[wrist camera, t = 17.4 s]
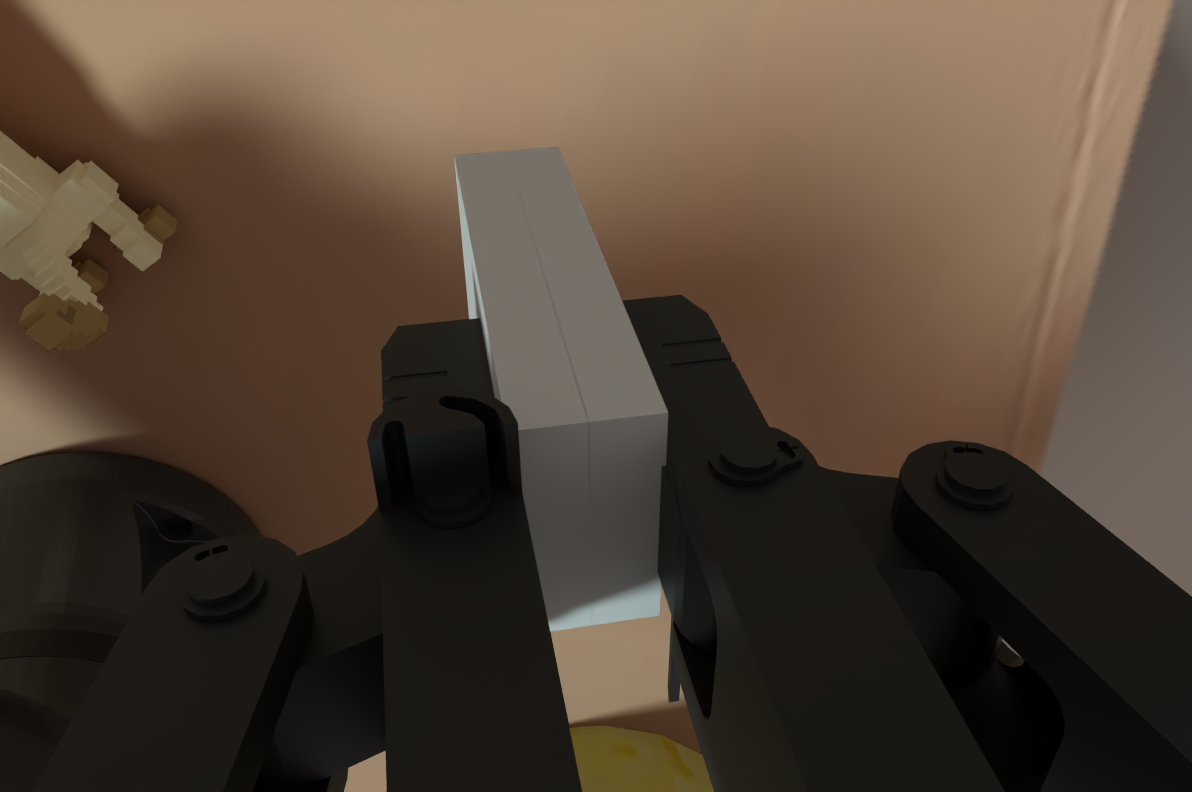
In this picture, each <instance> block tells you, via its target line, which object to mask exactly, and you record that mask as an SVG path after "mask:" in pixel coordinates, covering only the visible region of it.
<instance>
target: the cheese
mask: <svg viewBox="0 0 1192 792" xmlns="http://www.w3.org/2000/svg"><path fill="white" fill-rule="evenodd" d="M569 728H570V733H571V738H572V743H573V748H574V753H575V758H576V763H577V768H578V773H579V778H580V783H581V787H582V792H714V790H713V787H712V784H711V780H710V777H709V774H708V771H707V768H706V764H705V761H704V758H703V755H701V754H699V753H697V752H695V751H693V750H691V749H689V748H687V747H685V746H683V745H681V744H679V743H677V742H675V741H673V740H671V739H669V738H667V737H665V736H663V735H660V734H654V733H648V732H642V731H636V730H630V729H624V728H618V727H612V726H606V725H601V726H584V727H569Z"/></svg>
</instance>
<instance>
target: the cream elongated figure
mask: <svg viewBox="0 0 1192 792" xmlns="http://www.w3.org/2000/svg"><path fill="white" fill-rule="evenodd" d="M118 185H119V184H118V183H117V182H115V181H114V180H113V179H112V178H111V177H110V176H108V175H107V174H106V173H105V172H104V171H103V170H101V169H100V168H99V167H98V166H97V165H96V164H94V163H93V162H92V161H90V162H89V163H87V162H85V163H84V164H82V163H81V162H80V161H79V160H76V161H75V162H74V163H73V164H72V165H70V166H69V167H68V168H67V169H65V170H64V171H63V172H62V173H60V174H59V173H57V172H56V171H55V170H54V169H53V168H51V167H50V166H49V165H48V164H46V163H45V162H44V161H43V160H42V159H40V158H39V157H38V156H37V157H36V158H35V159H34V158H33V157H32V156H30V155H29V154H28V153H27V152H26V151H24V150H23V149H22V148H21V147H19V146H18V145H17V144H16V143H15V142H13V141H12V140H11V139H10V138H9V137H7V136H6V135H5V134H4V133H2V132H1V131H0V272H1V273H3V274H4V275H6V276H7V277H8V278H10V279H11V280H14V279H16V280H18V279H20V278H22V279H23V280H25V281H26V282H27V283H29V284H30V285H32V286H33V287H34V288H36V289H37V290H38V291H40V294H39V296H38V297H37V298H36V299H34V300H33V301H32V302H31V303H29V304H28V305H27V306H25V307H24V309H23V312H22V315H21V317H20V320H19V324H20V325H22V326H23V327H25V328H26V329H27V330H26V333H25V335H27V336H28V337H29V338H31V339H32V340H34V341H35V342H37V343H38V344H40V345H41V346H42V347H44V348H45V349H47V350H48V351H50V350H51V349H53V348H55V349H56V350H58V351H60V350H61V349H62V348H64V349H65V350H67V351H69V350H70V349H72V348H73V349H74V350H76V351H78V350H79V349H81V348H82V347H83V346H85V345H86V346H88V345H89V344H91V343H92V342H93V341H95V340H96V339H97V338H99V337H100V336H101V335H103V334H104V333H105V332H106V330H107V325H108V321H109V316H107V315H106V314H105V313H103V312H102V311H103V306H101V305H100V304H99V303H97V302H96V301H97V296H96V295H95V294H96V293H97V292H99V291H100V290H101V289H103V288H104V287H105V286H106V283H107V279H108V275H109V273H107V272H106V271H105V270H103V269H102V268H101V267H100V266H98V265H97V264H96V263H94V262H93V261H92V260H91V259H88V260H86V261H85V262H84V263H81V262H80V261H79V262H78V263H77V264H75V265H74V266H73V267H72V266H71V264H72V260H70V259H69V258H68V257H70V256H71V255H72V254H73V253H75V252H76V251H77V250H79V249H80V248H81V246H82V243H83V242H84V241H86V240H87V239H88V238H89V235H90V232H91V228H92V225H93V222H94V223H95V224H96V225H98V226H99V227H100V228H101V229H103V230H104V231H105V232H106V233H108V234H109V235H110V236H111V238H110V241H111V242H112V243H114V244H115V249H116V250H118V251H119V252H120V253H121V254H123V257H125V258H126V259H127V260H128V261H130V262H131V263H132V264H133V265H135V266H136V267H137V268H138V269H140V270H141V271H142V272H143V271H144V270H146V269H147V268H148V267H149V266H151V265H152V264H153V263H155V262H156V261H157V260H159V259H160V258H161V253H162V248H163V242H164V241H165V240H166V239H167V238H169V237H170V236H171V235H172V234H174V233H175V232H176V226H177V219H175V218H174V217H173V216H172V215H171V214H170V213H168V212H167V211H166V210H165V209H164V208H163V207H161V206H160V205H159V204H158V205H157V206H155V207H154V208H153V209H149V208H146V209H145V210H144V211H143V212H141V213H140V214H139V215H137V214H136V213H135V212H134V211H133V210H131V209H130V208H129V207H128V206H127V205H125V204H124V203H123V202H122V201H121V200H119V199H118V198H119V194H118V193H117V189H118Z"/></svg>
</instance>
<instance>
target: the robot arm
mask: <svg viewBox="0 0 1192 792" xmlns="http://www.w3.org/2000/svg"><path fill="white" fill-rule="evenodd" d="M454 159H455V170H456V180H457V191H458V202H459V213H460V224H461V235H462V246H463V257H464V268H465V278H466V289H467V300H468V311H469V319H466V320H456V321H446V322H436V323H426V324H417V325H407V326H398V327H397V329H396V330H395V332H394V333H393V335H392V336H391V337H390V339H389V340H388V342H387V343H386V345H385V346H384V348H383V349H382V351H381V359H382V381H383V383H382V393H383V413H382V414H381V415H380V416H379V417H378V418H377V419H376V420H375V421H374V422H373V423H372V426H371V430H370V433H369V436H368V439H367V442H368V448H369V453H370V459H371V465H372V471H373V476H374V482H375V488H376V494H377V499H378V507H377V509H376V511H375V512H374V513H373V514H372V515H371V516H370V517H369V518H368V519H367V520H366V521H365V523H364V524H363V525H361V526H360V527H358V528H357V529H355V530H354V531H353V532H351V533H350V534H348V535H347V536H345V537H343V538H341V539H339V540H337V541H334V542H332V543H330V544H328V545H326V546H323V547H321V548H318V549H315V550H312V551H310V552H307V553H304V554H302V555H299V556H296V554H295V552H294V551H293V550H291V549H290V548H288V547H287V546H285V545H283V544H282V543H280V542H279V541H277V540H276V539H271V538H265V537H261V535H260V533H259V532H258V530H257V529H256V527H255V526H254V524H253V523H252V522H251V520H250V519H249V518H248V517H247V516H246V514H245V513H244V512H243V511H242V510H241V509H240V508H239V507H238V506H237V505H235V504H234V503H233V502H232V501H231V500H230V499H228V498H227V497H226V496H225V495H223V494H222V493H220V492H219V491H217V490H216V489H215V488H213V487H211V486H210V485H208V484H206V483H205V482H203V481H201V480H199V479H197V478H195V477H193V476H191V475H189V474H187V473H184V472H182V471H180V470H177V469H174V468H172V467H169V466H166V465H163V464H159V463H156V462H153V461H149V460H145V459H141V458H135V457H130V456H124V455H117V454H107V453H88V452H79V453H61V454H52V455H45V456H39V457H34V458H29V459H25V460H21V461H18V462H14V463H11V464H8V465H5V466H2V467H0V792H344V788H345V785H346V781H347V776H348V768H349V767H351V766H353V765H355V764H357V763H359V762H362V761H364V760H366V759H368V758H370V757H372V756H374V755H376V754H379V753H381V752H383V751H385V750H386V778H387V792H582V787H581V783H580V778H579V773H578V768H577V763H576V758H575V753H574V748H573V743H572V738H571V733H570V728H569V723H568V718H567V713H566V708H565V703H564V698H563V693H562V688H561V683H560V678H559V673H558V668H557V663H556V658H555V653H554V648H553V643H552V638H551V633H550V632H551V631H557V630H564V629H571V628H578V627H584V626H591V625H598V624H605V623H611V622H618V621H625V620H632V619H638V618H645V617H652V616H659V615H660V592H661V584H662V587H663V590H664V593H665V596H666V599H667V602H668V605H669V608H670V611H671V614H672V615H671V634H670V653H669V672H668V697H669V702H675V701H679V693H680V684H681V687H682V691H683V694H684V697H685V700H686V703H687V707H688V710H689V713H690V716H691V719H692V723H693V726H694V729H695V732H696V735H697V739H698V742H699V745H700V748H701V752H702V755H703V758H704V761H705V764H706V768H707V771H708V774H709V777H710V780H711V784H712V787H713V790H714V792H1192V596H1190V595H1189V594H1188V593H1186V592H1185V591H1184V590H1183V589H1181V588H1180V587H1179V586H1178V585H1176V584H1175V583H1174V582H1173V581H1171V580H1170V579H1169V578H1167V577H1166V576H1165V575H1164V574H1163V573H1161V572H1160V571H1159V570H1158V569H1156V568H1155V567H1154V566H1153V565H1151V564H1150V563H1149V562H1148V561H1146V560H1145V559H1144V558H1143V557H1141V556H1140V555H1139V554H1137V553H1136V552H1135V551H1134V550H1133V549H1131V548H1130V547H1129V546H1128V545H1126V544H1125V543H1124V542H1123V541H1121V540H1120V539H1119V538H1117V537H1116V536H1115V535H1114V534H1112V533H1111V532H1110V531H1109V530H1107V529H1106V528H1105V527H1104V526H1103V525H1101V524H1100V523H1098V522H1097V521H1096V520H1095V519H1094V518H1092V517H1091V516H1090V515H1089V514H1087V513H1086V512H1085V511H1084V510H1082V509H1081V508H1080V507H1079V506H1077V505H1076V504H1075V503H1074V502H1072V501H1071V500H1070V499H1069V498H1067V497H1066V496H1065V495H1064V494H1062V493H1061V492H1060V491H1059V490H1057V489H1056V488H1055V487H1053V486H1052V485H1051V484H1050V483H1049V482H1047V481H1046V480H1045V479H1044V478H1042V477H1041V476H1040V475H1039V474H1037V473H1036V472H1035V471H1034V470H1032V469H1031V468H1030V467H1029V466H1027V465H1026V464H1024V463H1022V462H1021V461H1019V460H1017V459H1016V458H1014V457H1012V456H1011V455H1009V454H1007V453H1006V452H1004V451H1001V450H998V449H995V448H991V447H988V446H985V445H982V444H979V443H972V442H961V441H944V442H938V443H932V444H926V445H925V446H923V447H921V448H919V449H917V450H915V451H914V452H912V453H910V454H909V455H908V457H907V459H906V460H905V462H904V464H903V465H902V467H901V470H900V474H899V478H892V477H882V476H872V475H862V474H852V473H846V472H840V471H834V470H829V469H826V468H823V467H820V466H819V465H818V464H817V462H816V460H815V458H814V457H813V455H812V454H811V453H810V452H809V451H808V449H807V448H806V447H805V446H804V445H803V444H802V443H801V442H800V441H799V440H798V439H796V438H794V437H792V436H790V435H789V434H787V433H785V432H783V431H781V430H779V429H776V428H772V427H769V426H768V424H767V422H766V420H765V419H764V417H763V415H762V413H761V411H760V409H759V407H758V406H757V404H756V402H755V400H754V398H753V396H752V394H751V393H750V391H749V389H748V387H747V385H746V383H745V381H744V380H743V378H742V376H741V374H740V372H739V370H738V368H737V367H736V365H735V363H734V362H732V360H731V356H730V354H729V352H728V350H727V348H726V346H725V344H724V343H721V337H720V335H719V333H718V331H717V330H716V328H715V326H714V324H713V322H712V320H711V318H710V317H709V315H708V314H707V313H706V312H705V311H703V310H702V309H700V308H699V307H697V306H696V305H695V304H693V303H692V302H690V301H689V300H688V299H686V298H685V297H683V296H682V295H675V296H665V297H655V298H645V299H635V300H625V301H622V300H621V297H620V295H619V292H618V290H617V288H616V285H615V283H614V280H613V278H612V275H611V273H610V271H609V268H608V266H607V263H606V261H605V259H604V256H603V254H602V251H601V249H600V246H599V244H598V242H597V239H596V237H595V234H594V232H593V230H592V227H591V225H590V222H589V220H588V217H587V215H586V213H585V210H584V208H583V205H582V203H581V201H580V198H579V196H578V193H577V191H576V188H575V186H574V184H573V181H572V179H571V176H570V174H569V172H568V169H567V167H566V164H565V162H564V159H563V157H562V155H561V152H560V150H559V147H552V148H539V149H526V150H513V151H500V152H487V153H474V154H461V155H454ZM1002 638H1003V639H1004V640H1005V641H1006V642H1007V643H1008V644H1009V645H1010V646H1011V647H1012V648H1013V649H1014V650H1015V651H1016V652H1017V653H1018V654H1019V655H1020V656H1021V657H1022V658H1021V657H1019V656H1018V655H1017V654H1015V653H1014V652H1013V651H1012V650H1010V649H1009V648H1008V647H1007V646H1006V645H1005V644H1004V643H1003V642H1002Z"/></svg>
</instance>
